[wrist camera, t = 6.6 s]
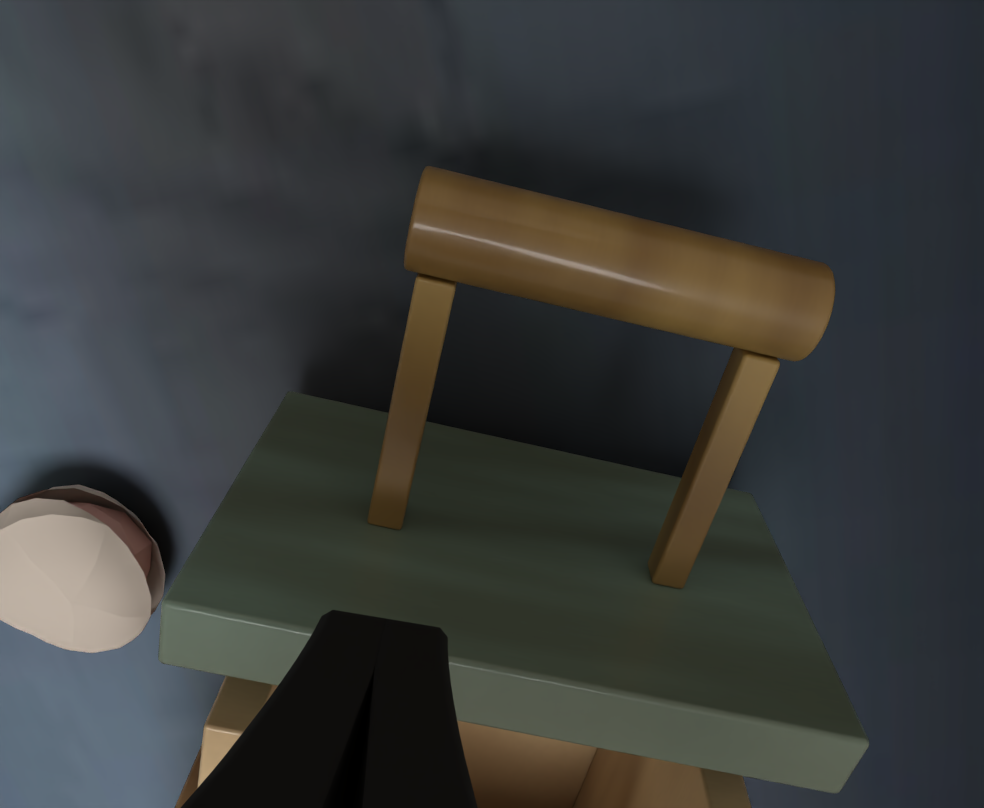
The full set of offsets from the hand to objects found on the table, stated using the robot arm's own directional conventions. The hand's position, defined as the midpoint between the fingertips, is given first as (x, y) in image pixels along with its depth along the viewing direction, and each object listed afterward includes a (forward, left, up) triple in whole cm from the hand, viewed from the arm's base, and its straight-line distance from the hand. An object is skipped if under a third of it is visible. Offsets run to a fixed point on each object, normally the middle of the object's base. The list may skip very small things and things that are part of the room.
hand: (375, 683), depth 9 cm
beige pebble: (+8, +7, -10) cm, 14 cm away
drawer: (-2, +4, -9) cm, 10 cm away
